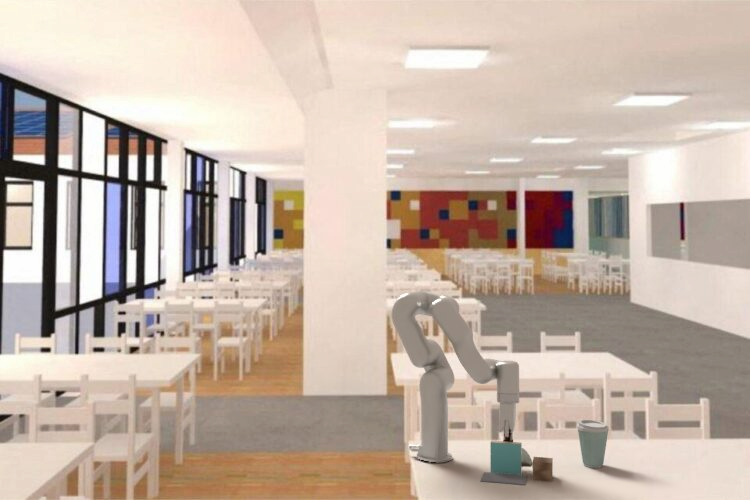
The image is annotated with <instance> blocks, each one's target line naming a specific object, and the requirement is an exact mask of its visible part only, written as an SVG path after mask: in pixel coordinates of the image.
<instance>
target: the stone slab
mask: <svg viewBox="0 0 750 500" xmlns="http://www.w3.org/2000/svg"><path fill="white" fill-rule="evenodd" d="M524 466H525V467H533V460H532V459H531V457H530V455H529V454H528V451H527V450H526V449H525V448H523V447H522V467H524Z"/></svg>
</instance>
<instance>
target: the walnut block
mask: <svg viewBox="0 0 750 500" xmlns="http://www.w3.org/2000/svg"><path fill="white" fill-rule="evenodd" d="M532 459H533V460H532V481H538V482H540V481H541V482H548V483H552V482H553V473H554V472H553V468H554V467H553V462H554V461H553V457H542V456H541V457H540V456H533V458H532Z"/></svg>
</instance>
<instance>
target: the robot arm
mask: <svg viewBox="0 0 750 500" xmlns="http://www.w3.org/2000/svg"><path fill="white" fill-rule="evenodd" d="M417 315H423V316H428V317H432V319H433V320H434V321H435V323H436V324H437V325H438V327H439V328H440V330H441V331H442V332H443V334H444V335H445V336H446V338H447V339H448V340H449V342H450V343H451V345H452V348H453V350H454V352H455V355H456V357H457V358H458V361H459V362H460V364H461V366H462V367H463V368H464V370H465V371H466V373H467V374H468V375H469V377H470V378H471V379H472V380H473V381H474V382H476V383H477V384H479V385H485V384H488V383H490V382H491V381H494V380H496V402H497V403H499V407H498V408H499V410H498V413H499V414H498V432H499V433H502V432H503V440H502V441H506V442H514V438H513V437H514V436H513V435H514V434H513V433H514V431H515V429H516V417H517V413H516V412H517V411H516V410H517V409H516V408H517V404H519V403H520V364H519V363H518V362H517V361H513V360H498V359H494V358H483V356H482V355H481V353H480V352H479V350H478V348H477V347H476V345H475V341H474V335H473V334H474V333H473V330H472V328H471V327H470V325H468V323H467V322H466V320H465V319H464V317H463V316H462V315H461V314H460V305H459V302H457V300H456V299H455V298H453V297H451V296H446V295H441V294H435V293H432V292H428V291H427V292H426V291H420V290H419V291H418V290H416V291H409V292H406V293H403V294H401V295H400V296H399V297H398V298H397V299H396V300H395V302H394V303H393V306H392V309H391V320H392V324H393V327H394V329H395V330H396V333H397V334H398V337H399V339H400V340H401V344H402V345H403V348H404V350H405V351H406V353H407V357H408V359H409V360H410V362H411V364H412V365H413V366H414V367H415V368H419V369H424V371H425V372H424V373H423V374H422V375H421V377H420V379H419V383H418V384H419V394H420V395H419V397H420V415H421V416H420V417H421V418H420V441H421V442H420V444H416V445H415V444H409V448H408V449H409V451H411V452H417V454H416V458H418V459H417V460H419V459H420V460H419V461H421V460H424V461H429V462H428V463H431V462H436V463H435V464H437V463H438V464H439V463H446V462H449V461H452V460H453V454H452V453H450V452H449V406H448V405H449V404H448V403H449V402H448V396H447V395H448V394H447V391H449V390H450V389H452V387H453V386H454V384H455V374H454V372H453V369H452V367H451V365H450V363H449V361H448V359H447V357H446V355H445V352H444V351H443V349H442V347H441V346H440V344H439V343H438V342H437V341H436V340H434V339H430V338H427V336H426V335H425V334H424V331H423V328H422V326H421V325H420V323H419V322H418V321H417V319H416V316H417ZM424 461H423V462H424Z"/></svg>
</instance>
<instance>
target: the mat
mask: <svg viewBox="0 0 750 500" xmlns="http://www.w3.org/2000/svg"><path fill="white" fill-rule="evenodd" d="M482 473H483V474H482V476H481V479H480V482H481V483H482V482H483V483H484V482H485V483H495V484H505V485H506V484H507V485H520V486H526V483H527V479H528V475H527V474H526V475H525V474H521V475H517V474H505V473H492V472H491V471H489V472H488V471H483V472H482Z"/></svg>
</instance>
